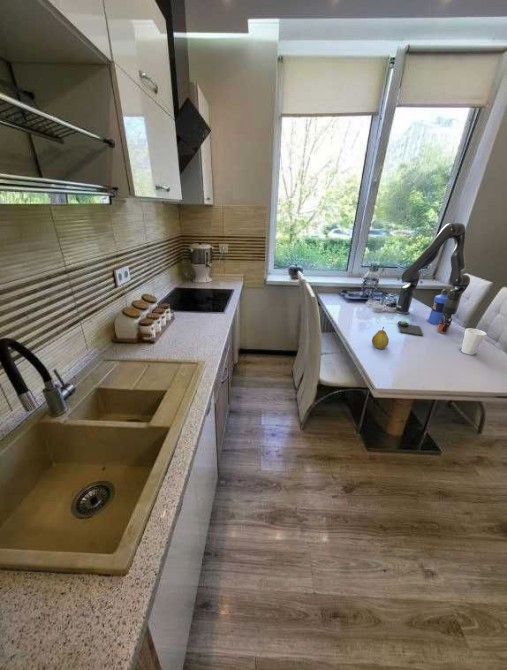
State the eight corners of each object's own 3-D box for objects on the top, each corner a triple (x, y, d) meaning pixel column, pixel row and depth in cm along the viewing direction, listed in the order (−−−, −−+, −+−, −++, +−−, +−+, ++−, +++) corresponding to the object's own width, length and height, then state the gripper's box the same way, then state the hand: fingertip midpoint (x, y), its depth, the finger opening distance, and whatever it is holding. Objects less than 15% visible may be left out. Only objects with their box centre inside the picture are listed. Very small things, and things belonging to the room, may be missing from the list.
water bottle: (428, 323, 198) (439, 289, 188) (426, 319, 206) (437, 286, 196) (443, 325, 195) (455, 291, 185) (441, 321, 203) (452, 288, 192)
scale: (397, 323, 196) (397, 320, 195) (418, 327, 191) (419, 323, 190) (398, 332, 182) (399, 328, 181) (422, 336, 178) (423, 332, 176)
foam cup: (474, 350, 161) (482, 329, 156) (480, 357, 153) (489, 336, 148) (455, 347, 164) (463, 327, 159) (460, 354, 156) (469, 333, 151)
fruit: (380, 351, 156) (385, 332, 151) (367, 345, 163) (371, 326, 158) (390, 348, 160) (395, 329, 155) (377, 342, 167) (381, 324, 162)
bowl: (436, 328, 187) (438, 321, 185) (446, 330, 185) (448, 323, 183) (437, 332, 182) (440, 325, 180) (448, 333, 180) (451, 326, 178)
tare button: (400, 322, 193) (400, 320, 193) (405, 323, 192) (406, 321, 191) (400, 324, 190) (401, 321, 189) (406, 324, 189) (407, 322, 188)
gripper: (460, 310, 169) (451, 334, 176) (455, 303, 181) (446, 326, 188) (446, 308, 171) (438, 332, 179) (442, 301, 184) (434, 324, 191)
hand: (442, 329), depth 183 cm, fingers closed on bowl, 6 cm apart
